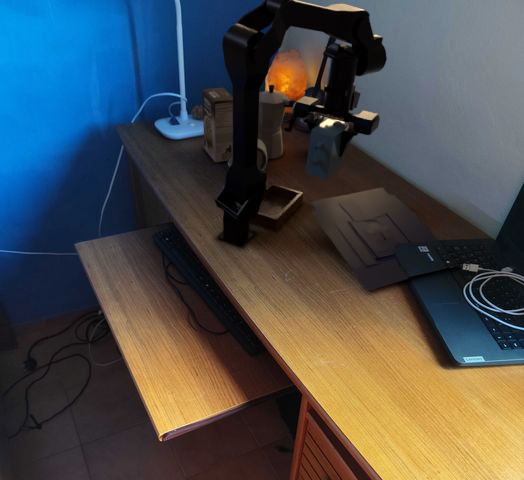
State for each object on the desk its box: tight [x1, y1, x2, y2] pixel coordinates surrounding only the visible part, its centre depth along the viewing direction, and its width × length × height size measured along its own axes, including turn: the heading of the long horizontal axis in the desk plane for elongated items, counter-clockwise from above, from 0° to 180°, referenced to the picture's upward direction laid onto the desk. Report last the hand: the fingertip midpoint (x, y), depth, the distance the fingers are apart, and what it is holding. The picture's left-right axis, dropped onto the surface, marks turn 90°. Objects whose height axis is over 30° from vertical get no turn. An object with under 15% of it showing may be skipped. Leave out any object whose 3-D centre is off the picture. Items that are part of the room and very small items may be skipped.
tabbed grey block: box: [304, 119, 349, 181], centre depth 106 cm, size 6×11×10 cm, turn 148°
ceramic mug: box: [227, 139, 268, 171], centre depth 125 cm, size 11×8×8 cm
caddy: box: [250, 182, 304, 232], centre depth 113 cm, size 15×9×3 cm, turn 152°
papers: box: [309, 187, 440, 292], centre depth 106 cm, size 24×30×4 cm
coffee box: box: [201, 87, 233, 163], centre depth 127 cm, size 9×6×16 cm
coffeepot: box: [258, 84, 298, 160], centre depth 129 cm, size 15×9×18 cm, turn 60°
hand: (329, 153), depth 109 cm, fingers closed on tabbed grey block, 6 cm apart
